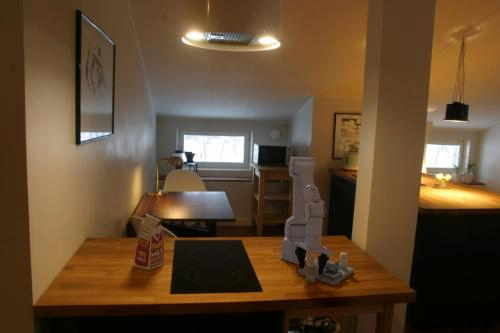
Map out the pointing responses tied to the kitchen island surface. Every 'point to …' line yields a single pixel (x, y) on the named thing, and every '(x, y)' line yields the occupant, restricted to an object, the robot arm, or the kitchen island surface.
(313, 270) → the leg peg
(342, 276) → the board
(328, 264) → the bar
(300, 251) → the robot arm
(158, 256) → the milk carton
